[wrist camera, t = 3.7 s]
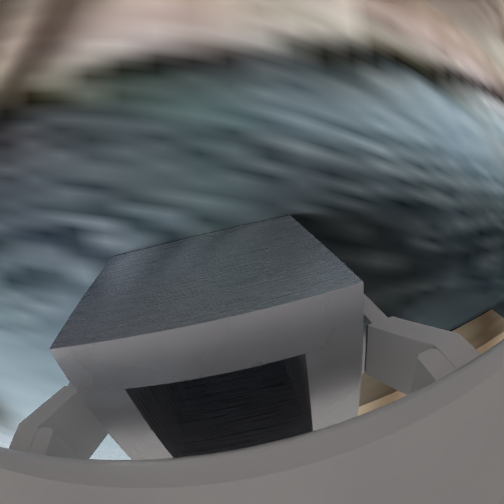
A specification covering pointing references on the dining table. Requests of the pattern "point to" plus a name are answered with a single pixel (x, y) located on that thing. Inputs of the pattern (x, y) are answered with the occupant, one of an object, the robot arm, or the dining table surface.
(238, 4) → the dining table surface
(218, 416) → the grey hollow square block
